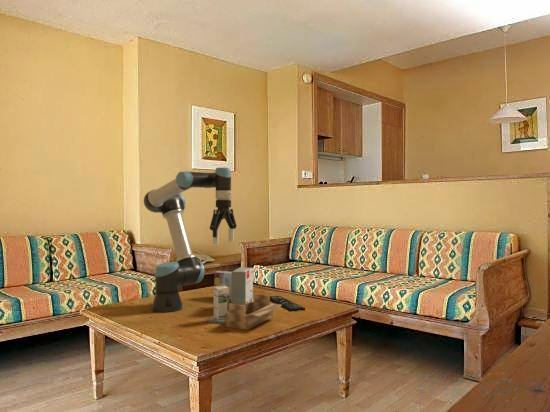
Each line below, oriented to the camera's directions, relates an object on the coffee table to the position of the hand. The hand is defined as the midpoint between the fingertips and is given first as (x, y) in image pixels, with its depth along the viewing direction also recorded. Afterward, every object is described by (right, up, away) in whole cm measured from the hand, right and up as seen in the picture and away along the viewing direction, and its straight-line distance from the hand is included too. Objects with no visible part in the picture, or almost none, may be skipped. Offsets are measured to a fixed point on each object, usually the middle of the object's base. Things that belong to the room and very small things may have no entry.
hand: (223, 243), depth 214 cm
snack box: (+1, -35, +33) cm, 48 cm away
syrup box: (0, -34, -11) cm, 36 cm away
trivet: (0, -35, -11) cm, 36 cm away
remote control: (+30, -35, +20) cm, 51 cm away
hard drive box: (+8, -35, +12) cm, 38 cm away
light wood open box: (+16, -35, -14) cm, 41 cm away
